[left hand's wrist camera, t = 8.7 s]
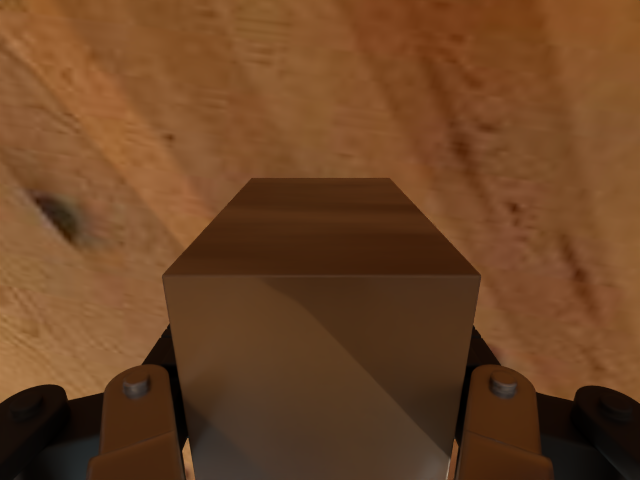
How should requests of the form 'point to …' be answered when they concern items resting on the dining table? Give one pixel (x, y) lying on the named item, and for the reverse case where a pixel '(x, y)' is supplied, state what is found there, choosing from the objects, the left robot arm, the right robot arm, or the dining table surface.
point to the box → (321, 334)
